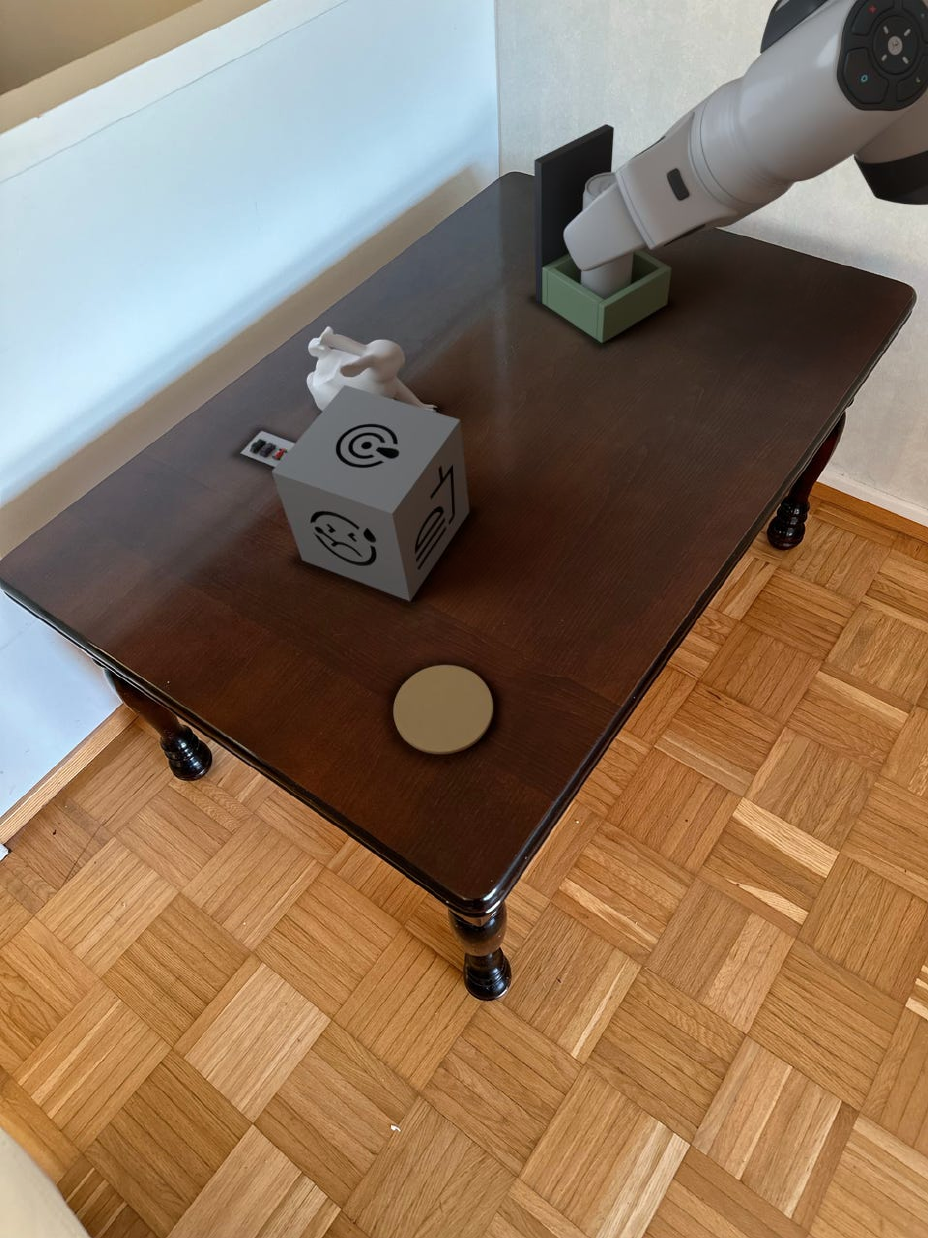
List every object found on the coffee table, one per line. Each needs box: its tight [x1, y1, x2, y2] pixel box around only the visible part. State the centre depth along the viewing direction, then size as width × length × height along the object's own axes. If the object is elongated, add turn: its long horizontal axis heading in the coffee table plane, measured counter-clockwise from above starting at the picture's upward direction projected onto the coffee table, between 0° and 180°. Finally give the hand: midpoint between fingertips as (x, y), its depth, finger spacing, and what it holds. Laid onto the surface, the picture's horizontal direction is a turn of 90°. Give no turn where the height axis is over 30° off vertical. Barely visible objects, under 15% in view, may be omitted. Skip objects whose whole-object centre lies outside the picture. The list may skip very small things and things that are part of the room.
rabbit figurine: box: [306, 326, 438, 413], centre depth 78 cm, size 12×8×10 cm, turn 62°
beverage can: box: [581, 171, 633, 300], centre depth 84 cm, size 5×5×12 cm
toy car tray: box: [240, 430, 296, 468], centre depth 79 cm, size 3×8×1 cm, turn 60°
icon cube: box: [271, 385, 470, 602], centre depth 69 cm, size 10×10×10 cm
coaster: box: [393, 664, 494, 755], centre depth 64 cm, size 7×7×1 cm
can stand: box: [533, 123, 672, 344], centre depth 83 cm, size 10×9×14 cm
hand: (624, 227), depth 81 cm, fingers open, 8 cm apart
